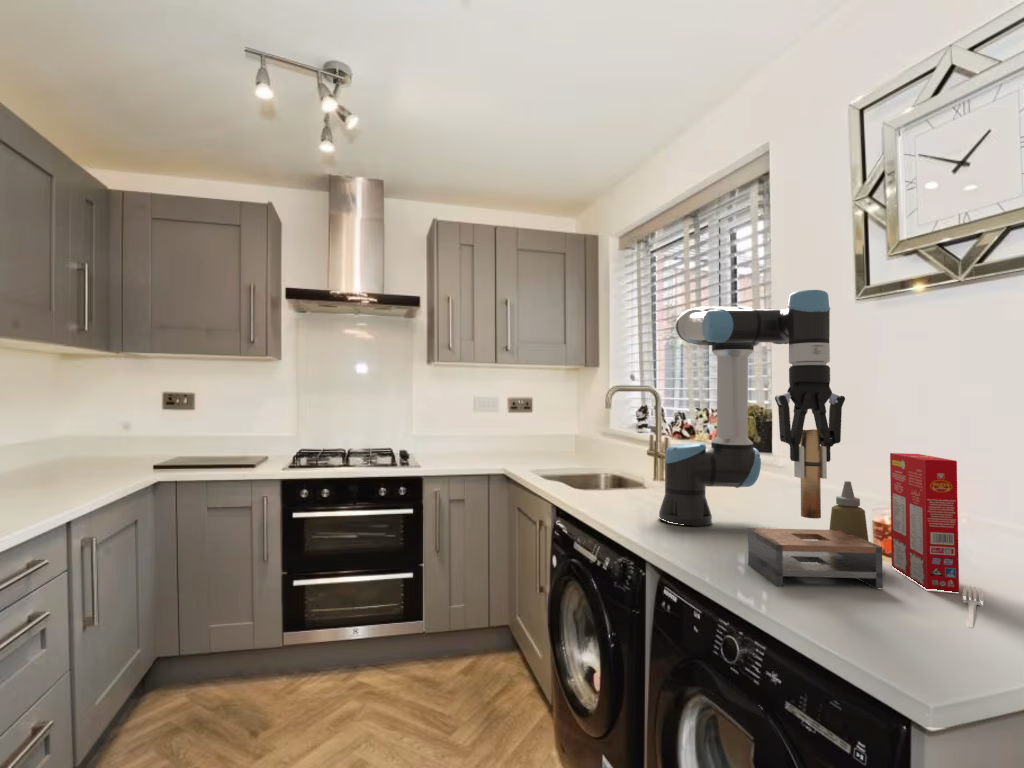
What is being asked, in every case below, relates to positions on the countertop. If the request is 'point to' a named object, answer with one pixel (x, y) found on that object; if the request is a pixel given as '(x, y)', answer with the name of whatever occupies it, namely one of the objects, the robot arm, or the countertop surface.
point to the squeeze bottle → (849, 514)
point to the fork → (972, 605)
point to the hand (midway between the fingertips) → (810, 477)
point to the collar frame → (813, 555)
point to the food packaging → (925, 519)
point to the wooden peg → (811, 474)
